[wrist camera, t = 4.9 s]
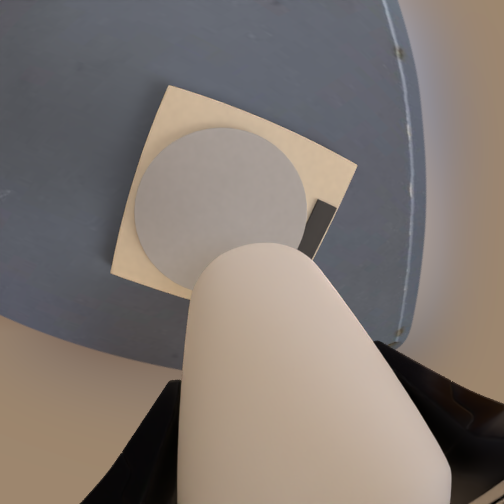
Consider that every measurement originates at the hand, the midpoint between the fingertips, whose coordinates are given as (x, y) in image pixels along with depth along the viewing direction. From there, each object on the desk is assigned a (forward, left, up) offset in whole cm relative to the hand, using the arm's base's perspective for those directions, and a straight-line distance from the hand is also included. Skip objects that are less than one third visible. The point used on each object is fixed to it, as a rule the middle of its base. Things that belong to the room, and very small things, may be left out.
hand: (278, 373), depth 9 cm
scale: (+1, +2, -13) cm, 13 cm away
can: (0, 0, -5) cm, 5 cm away
